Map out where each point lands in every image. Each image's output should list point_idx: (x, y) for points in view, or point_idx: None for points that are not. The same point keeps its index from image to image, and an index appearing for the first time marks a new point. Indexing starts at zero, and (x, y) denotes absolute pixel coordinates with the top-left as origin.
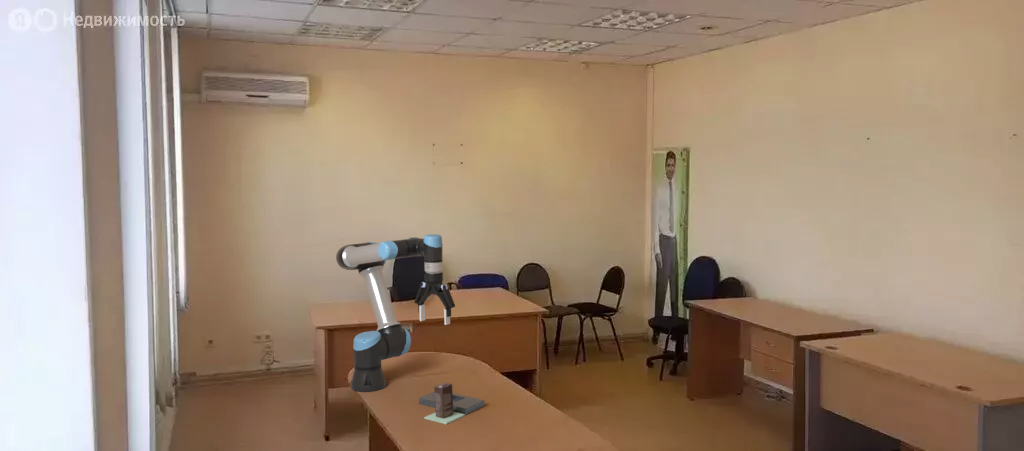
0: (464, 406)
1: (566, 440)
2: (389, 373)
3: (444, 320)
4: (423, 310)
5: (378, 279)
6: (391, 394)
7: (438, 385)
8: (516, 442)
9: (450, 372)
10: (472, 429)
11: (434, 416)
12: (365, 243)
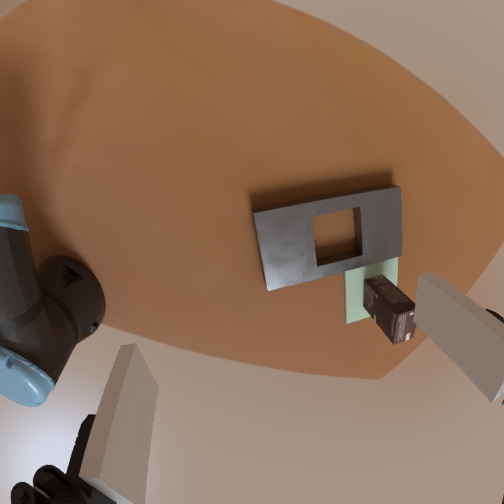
0: (393, 249)
1: None
2: None
3: (433, 341)
4: (128, 439)
5: None
6: (152, 292)
7: (398, 335)
8: (486, 267)
9: (100, 57)
10: None
11: (359, 307)
12: None
